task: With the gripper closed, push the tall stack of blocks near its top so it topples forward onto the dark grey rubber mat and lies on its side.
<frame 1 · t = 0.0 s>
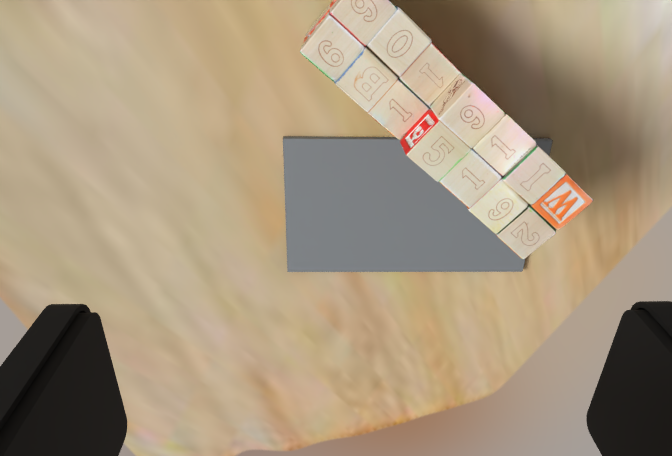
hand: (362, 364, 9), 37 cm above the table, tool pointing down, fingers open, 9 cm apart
stack of blocks: (423, 93, 44), on the table, touching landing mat
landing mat: (410, 207, 49), on the table
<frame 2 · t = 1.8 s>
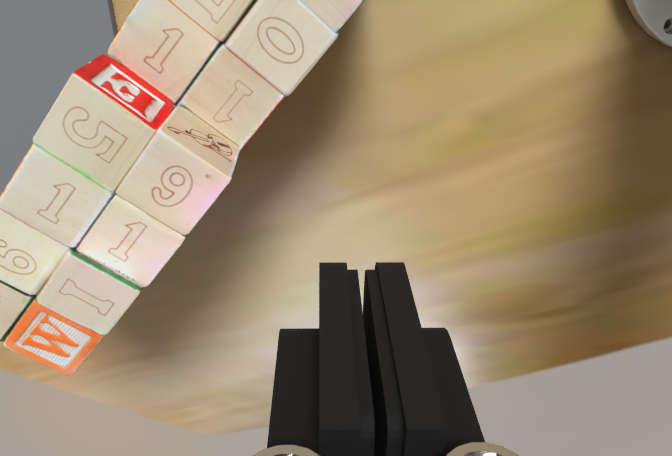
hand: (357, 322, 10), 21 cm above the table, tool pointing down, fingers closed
stack of blocks: (196, 79, 28), on the table, touching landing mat
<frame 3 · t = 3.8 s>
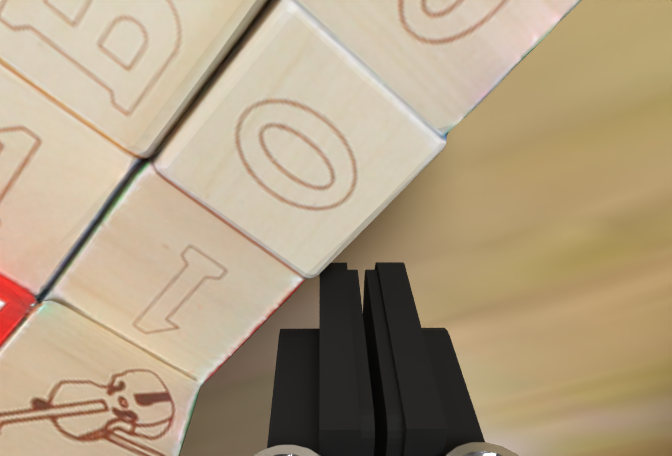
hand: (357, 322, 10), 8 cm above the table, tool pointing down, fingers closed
stack of blocks: (158, 171, 17), on the table, touching gripper, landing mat
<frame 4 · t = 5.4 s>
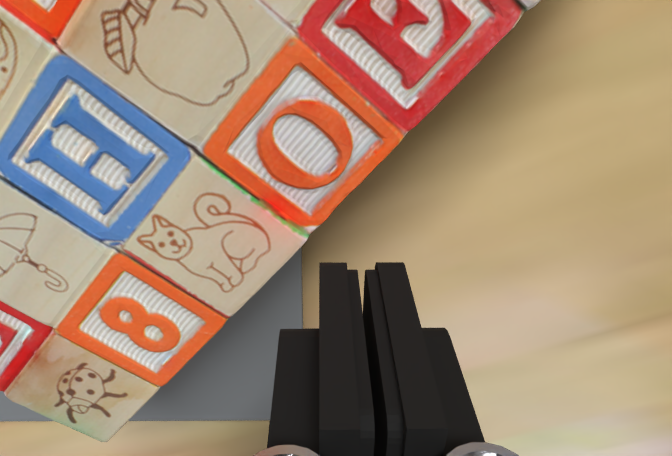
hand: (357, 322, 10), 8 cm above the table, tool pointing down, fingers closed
stack of blocks: (359, 148, 13), point 4 cm above the table, touching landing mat
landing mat: (94, 163, 17), on the table
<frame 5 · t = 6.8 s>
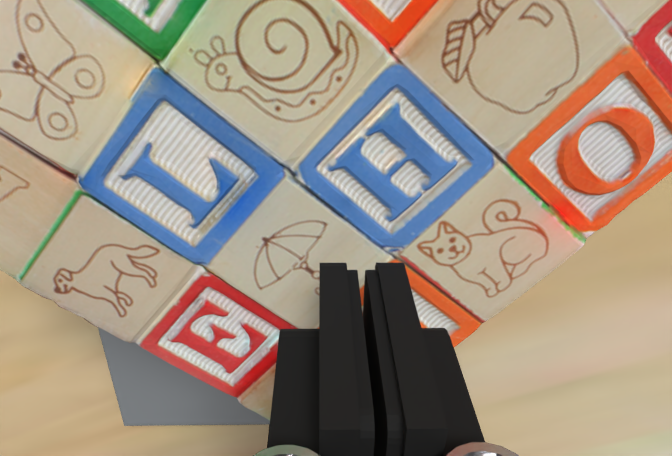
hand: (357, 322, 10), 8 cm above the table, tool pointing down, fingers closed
stack of blocks: (588, 153, 14), point 4 cm above the table, touching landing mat
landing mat: (272, 168, 17), on the table
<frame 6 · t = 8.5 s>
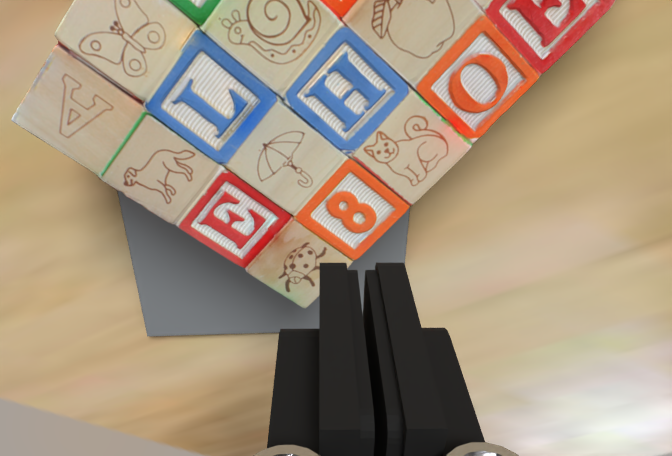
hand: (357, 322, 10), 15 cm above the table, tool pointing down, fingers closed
stack of blocks: (483, 96, 20), point 4 cm above the table, touching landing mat
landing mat: (264, 119, 23), on the table
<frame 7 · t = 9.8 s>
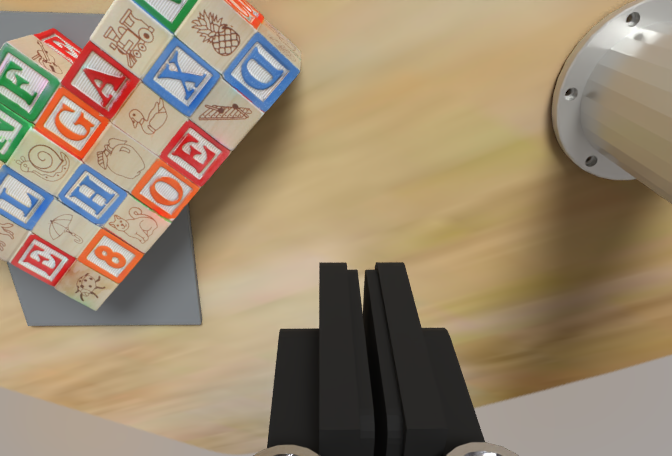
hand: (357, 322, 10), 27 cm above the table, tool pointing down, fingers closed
stack of blocks: (199, 188, 33), point 4 cm above the table, touching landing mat
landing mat: (89, 190, 37), on the table
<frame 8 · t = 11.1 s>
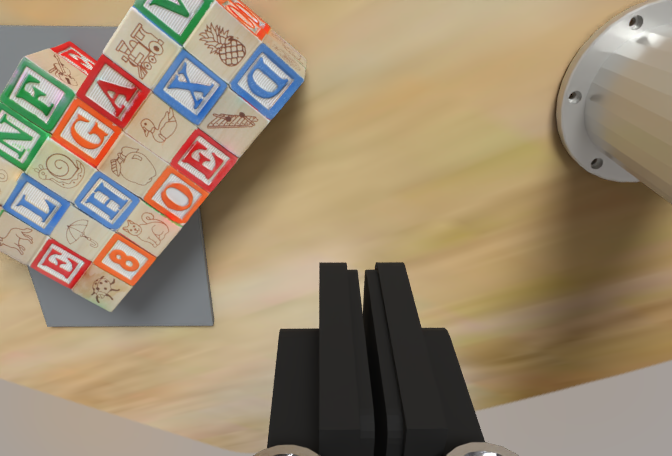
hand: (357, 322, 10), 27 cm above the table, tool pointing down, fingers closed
stack of blocks: (209, 193, 34), point 4 cm above the table, touching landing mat
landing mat: (104, 196, 38), on the table
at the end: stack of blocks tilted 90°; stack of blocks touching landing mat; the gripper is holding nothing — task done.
